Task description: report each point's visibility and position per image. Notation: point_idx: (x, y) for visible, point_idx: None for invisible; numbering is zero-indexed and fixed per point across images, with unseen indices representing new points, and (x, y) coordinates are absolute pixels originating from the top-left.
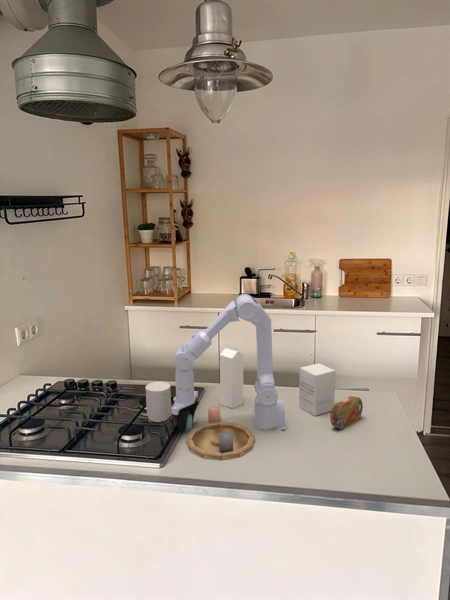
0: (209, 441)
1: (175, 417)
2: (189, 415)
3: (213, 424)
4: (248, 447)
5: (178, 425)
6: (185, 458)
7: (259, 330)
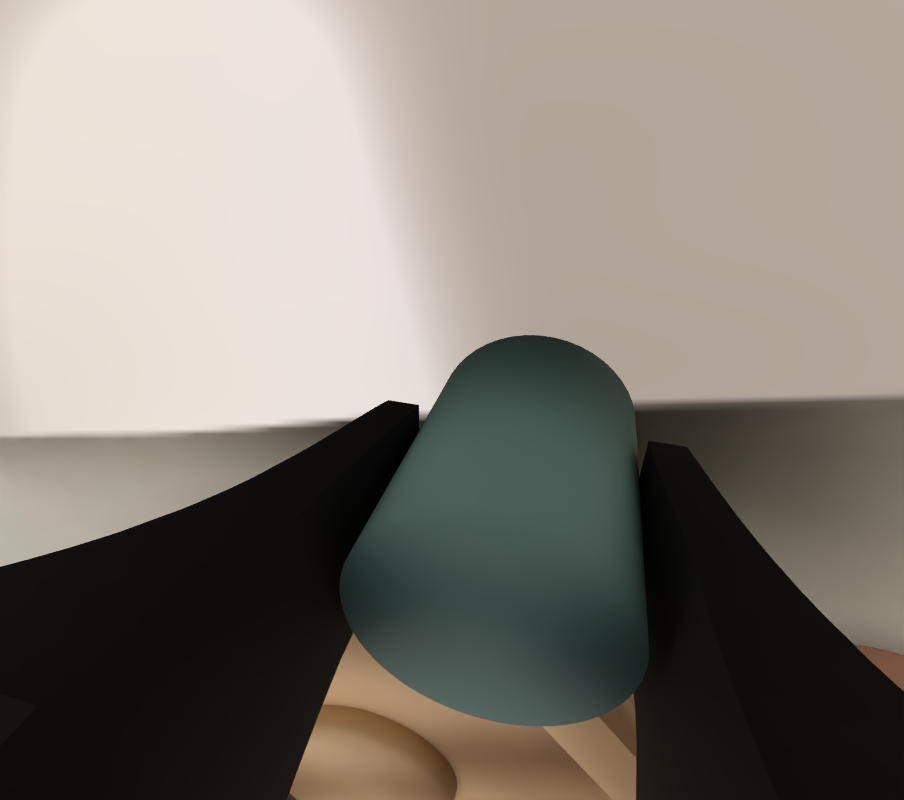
0: (327, 697)
1: (156, 528)
2: (527, 692)
3: (607, 780)
4: None
5: (347, 428)
6: (74, 540)
7: None
